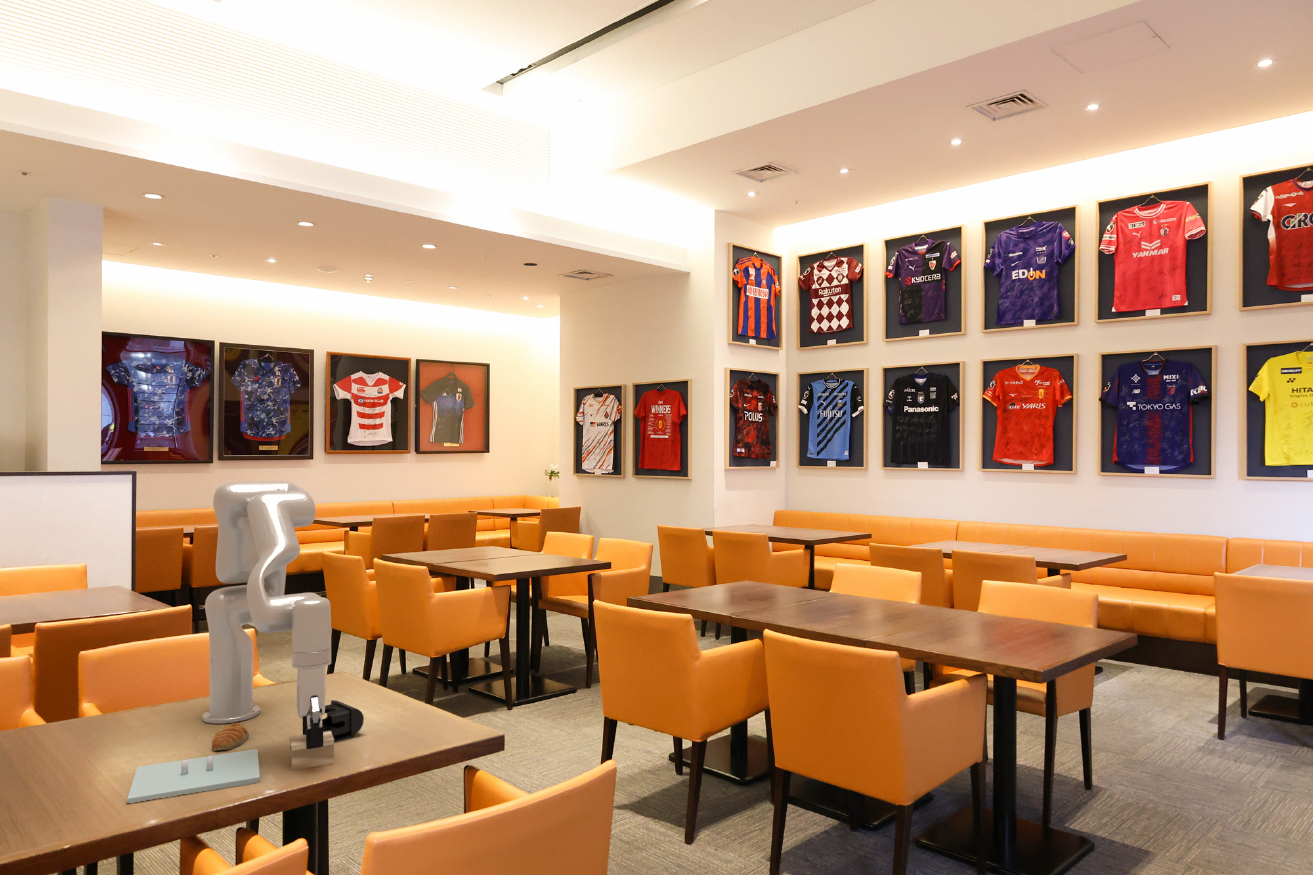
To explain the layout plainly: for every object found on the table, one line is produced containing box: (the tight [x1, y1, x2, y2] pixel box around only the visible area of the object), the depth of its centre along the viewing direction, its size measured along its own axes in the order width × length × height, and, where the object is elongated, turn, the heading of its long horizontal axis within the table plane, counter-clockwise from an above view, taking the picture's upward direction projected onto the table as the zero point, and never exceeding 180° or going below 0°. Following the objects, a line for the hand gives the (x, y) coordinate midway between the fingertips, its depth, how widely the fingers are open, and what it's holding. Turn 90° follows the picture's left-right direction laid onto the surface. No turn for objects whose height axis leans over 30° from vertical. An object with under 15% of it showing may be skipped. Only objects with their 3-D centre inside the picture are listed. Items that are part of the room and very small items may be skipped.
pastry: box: [211, 722, 250, 752], centre depth 186 cm, size 9×7×4 cm
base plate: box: [126, 748, 261, 804], centre depth 168 cm, size 18×22×4 cm
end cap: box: [322, 699, 365, 743], centre depth 193 cm, size 10×7×7 cm
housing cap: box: [289, 731, 335, 771], centre depth 175 cm, size 6×8×5 cm
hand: (312, 740), depth 175 cm, fingers open, 9 cm apart
